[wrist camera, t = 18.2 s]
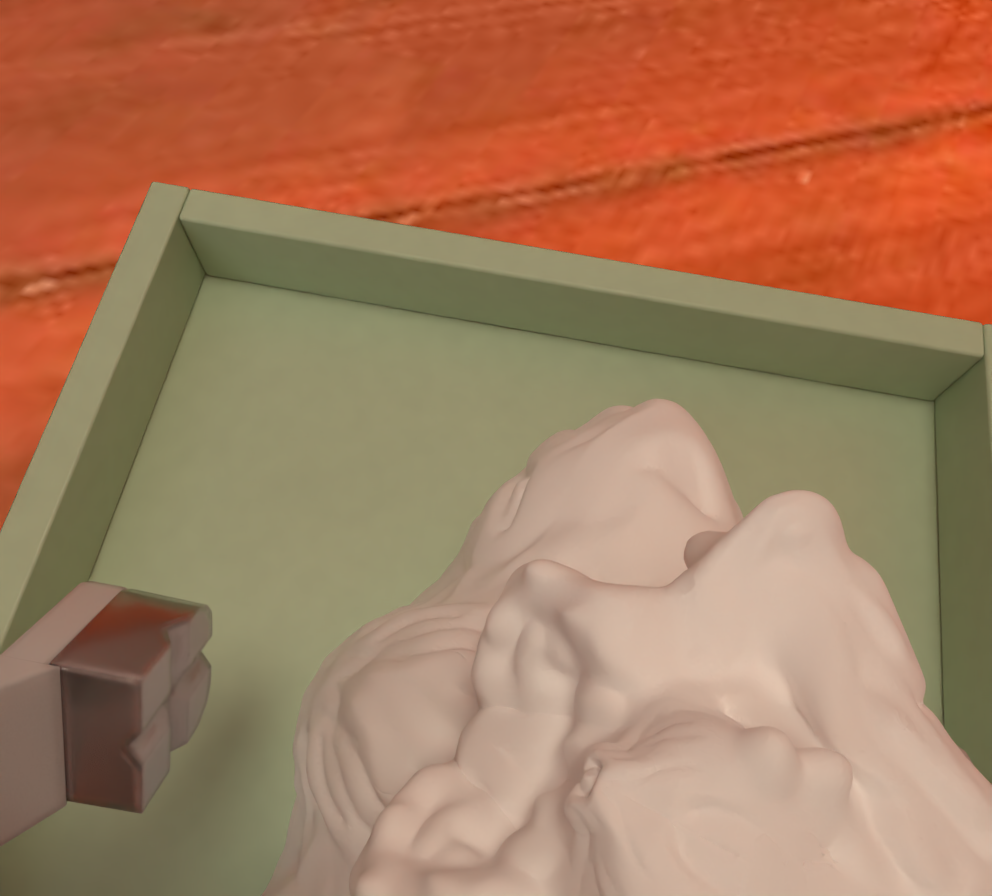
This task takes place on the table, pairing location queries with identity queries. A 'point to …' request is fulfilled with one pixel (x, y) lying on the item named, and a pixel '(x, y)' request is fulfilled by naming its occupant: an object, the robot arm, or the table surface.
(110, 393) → the serving tray
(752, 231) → the table surface
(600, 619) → the bust
